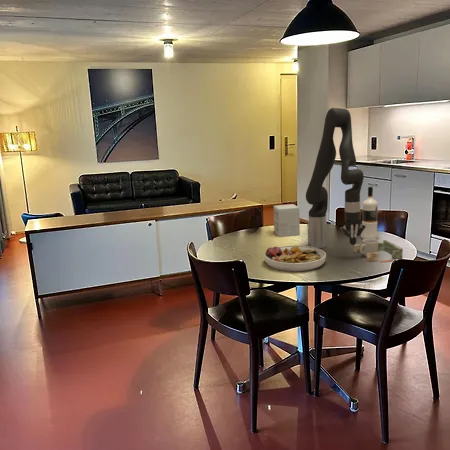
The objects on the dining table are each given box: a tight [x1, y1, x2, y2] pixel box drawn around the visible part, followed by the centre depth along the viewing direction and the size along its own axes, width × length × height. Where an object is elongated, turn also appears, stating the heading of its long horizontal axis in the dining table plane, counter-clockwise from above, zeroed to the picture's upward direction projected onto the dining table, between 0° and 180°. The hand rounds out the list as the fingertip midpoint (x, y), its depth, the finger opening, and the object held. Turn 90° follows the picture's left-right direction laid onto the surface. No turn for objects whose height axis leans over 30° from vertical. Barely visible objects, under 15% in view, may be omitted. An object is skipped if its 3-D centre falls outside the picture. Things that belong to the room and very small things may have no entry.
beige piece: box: [353, 239, 403, 263], centre depth 220 cm, size 18×17×5 cm
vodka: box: [360, 186, 379, 240], centre depth 249 cm, size 9×9×30 cm
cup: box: [360, 238, 380, 257], centre depth 220 cm, size 11×8×8 cm
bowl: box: [263, 245, 327, 272], centre depth 216 cm, size 30×30×8 cm
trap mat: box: [379, 258, 394, 263], centre depth 211 cm, size 7×2×1 cm, turn 97°
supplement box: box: [273, 203, 301, 238], centre depth 271 cm, size 13×13×18 cm
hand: (352, 244), depth 218 cm, fingers closed
